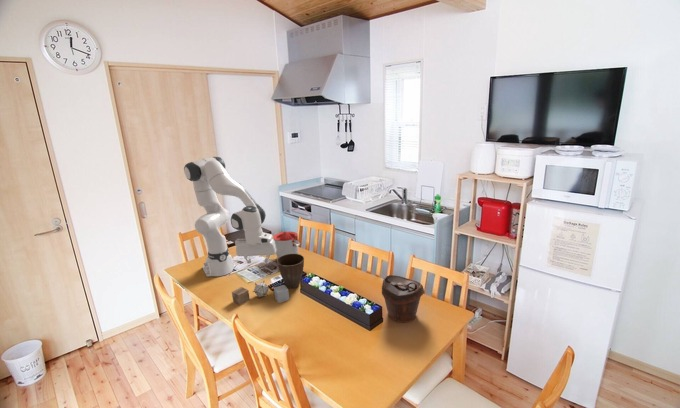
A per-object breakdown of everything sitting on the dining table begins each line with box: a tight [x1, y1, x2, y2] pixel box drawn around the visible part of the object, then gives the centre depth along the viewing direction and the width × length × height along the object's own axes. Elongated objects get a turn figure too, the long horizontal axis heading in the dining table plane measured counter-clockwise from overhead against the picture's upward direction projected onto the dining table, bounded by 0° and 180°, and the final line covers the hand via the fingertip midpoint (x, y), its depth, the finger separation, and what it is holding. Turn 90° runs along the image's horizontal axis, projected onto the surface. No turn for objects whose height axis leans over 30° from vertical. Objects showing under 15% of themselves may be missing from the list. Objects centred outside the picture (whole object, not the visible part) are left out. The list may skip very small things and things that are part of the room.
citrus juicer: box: [272, 231, 301, 259], centre depth 216 cm, size 16×17×20 cm
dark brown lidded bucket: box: [381, 274, 425, 323], centre depth 154 cm, size 18×20×18 cm
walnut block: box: [231, 286, 251, 306], centre depth 174 cm, size 6×6×6 cm
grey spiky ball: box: [252, 281, 271, 299], centre depth 177 cm, size 9×8×10 cm
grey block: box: [273, 284, 290, 304], centre depth 174 cm, size 6×6×6 cm
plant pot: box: [276, 253, 305, 289], centre depth 185 cm, size 15×15×16 cm
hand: (258, 262), depth 173 cm, fingers open, 8 cm apart
